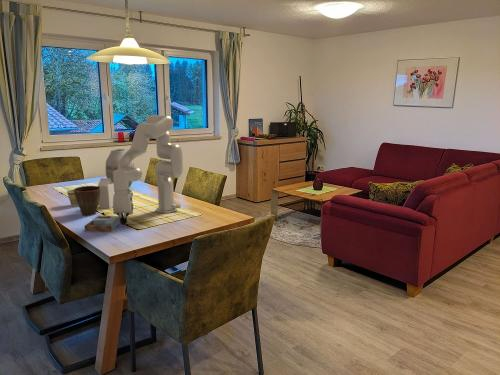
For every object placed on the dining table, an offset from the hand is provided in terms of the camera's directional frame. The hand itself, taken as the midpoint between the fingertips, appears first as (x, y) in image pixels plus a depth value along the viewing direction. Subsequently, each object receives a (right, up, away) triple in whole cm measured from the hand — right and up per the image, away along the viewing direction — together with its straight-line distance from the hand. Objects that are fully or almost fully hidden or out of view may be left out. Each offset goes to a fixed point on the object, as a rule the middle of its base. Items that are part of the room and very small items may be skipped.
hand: (124, 224), depth 218 cm
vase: (-31, +20, +91) cm, 98 cm away
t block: (-11, -1, 0) cm, 11 cm away
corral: (-11, -1, +1) cm, 11 cm away
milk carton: (-23, +8, +38) cm, 45 cm away
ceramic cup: (-43, +8, +41) cm, 60 cm away
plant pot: (-28, +4, +23) cm, 36 cm away
